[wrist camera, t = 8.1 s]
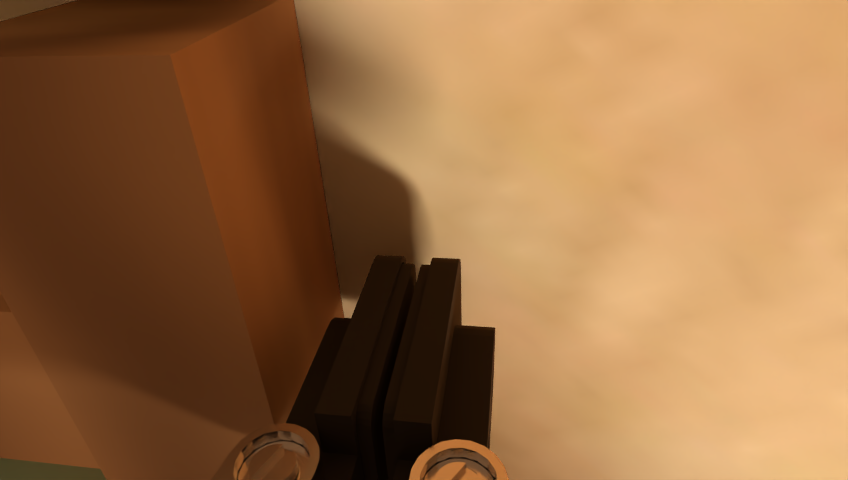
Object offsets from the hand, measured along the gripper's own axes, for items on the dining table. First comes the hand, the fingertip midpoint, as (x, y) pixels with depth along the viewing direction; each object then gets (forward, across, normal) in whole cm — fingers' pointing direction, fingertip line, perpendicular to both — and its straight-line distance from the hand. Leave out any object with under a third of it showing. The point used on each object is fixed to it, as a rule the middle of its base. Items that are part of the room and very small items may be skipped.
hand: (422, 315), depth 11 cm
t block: (+1, +8, 0) cm, 8 cm away
